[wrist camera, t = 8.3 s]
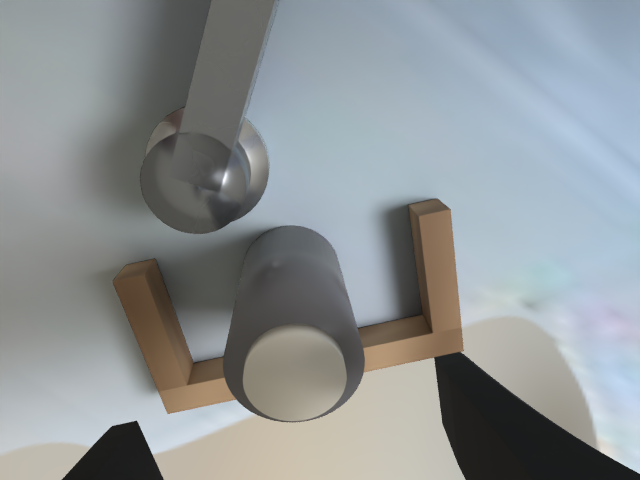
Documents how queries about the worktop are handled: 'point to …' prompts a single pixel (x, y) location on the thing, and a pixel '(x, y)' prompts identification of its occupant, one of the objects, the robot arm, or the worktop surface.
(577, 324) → the worktop surface
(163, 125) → the grey metal disc
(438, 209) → the tan wooden u-shaped piece
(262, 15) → the grey long bar
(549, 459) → the robot arm
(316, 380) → the plug
